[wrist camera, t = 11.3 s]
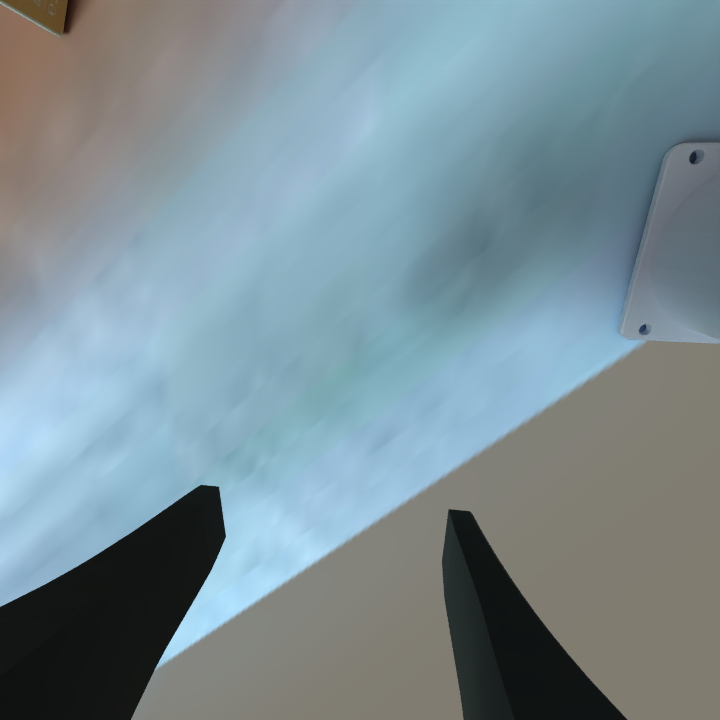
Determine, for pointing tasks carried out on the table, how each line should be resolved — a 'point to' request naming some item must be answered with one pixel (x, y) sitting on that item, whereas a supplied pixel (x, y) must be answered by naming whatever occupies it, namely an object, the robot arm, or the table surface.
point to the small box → (41, 12)
